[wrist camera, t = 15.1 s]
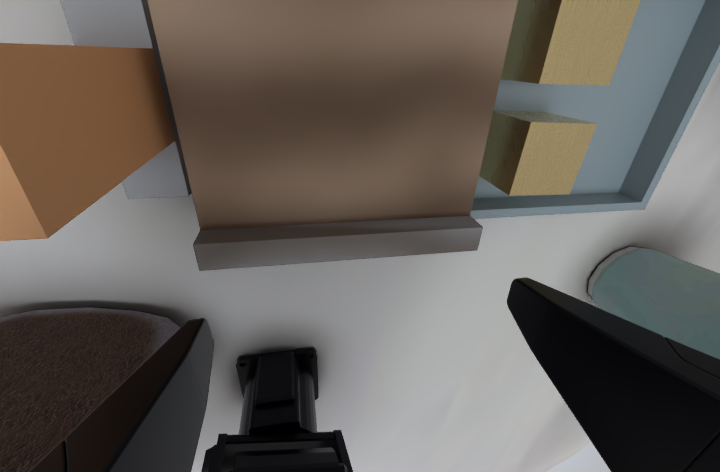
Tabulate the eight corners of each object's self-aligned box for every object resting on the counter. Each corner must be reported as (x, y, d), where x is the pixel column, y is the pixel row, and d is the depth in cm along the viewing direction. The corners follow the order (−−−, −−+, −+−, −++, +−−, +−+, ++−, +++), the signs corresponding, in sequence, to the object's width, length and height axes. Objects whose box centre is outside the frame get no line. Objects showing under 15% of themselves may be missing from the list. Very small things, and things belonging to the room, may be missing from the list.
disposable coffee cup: (587, 231, 27) (854, 390, 14) (694, 216, 29) (1022, 348, 16) (554, 323, 32) (727, 500, 20) (646, 307, 34) (862, 461, 21)
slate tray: (615, 196, 26) (644, 209, 24) (426, 204, 23) (440, 220, 21) (714, -26, 19) (768, -36, 17) (464, -53, 16) (490, -69, 14)
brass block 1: (493, 78, 19) (553, 79, 20) (539, 83, 16) (609, 85, 16) (511, -6, 17) (577, -1, 18) (567, -21, 14) (645, -14, 14)
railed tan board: (439, 210, 23) (477, 250, 19) (220, 221, 21) (199, 270, 16) (486, -64, 16) (567, -112, 11) (156, -103, 13) (84, -187, 9)
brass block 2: (474, 173, 22) (527, 172, 23) (509, 195, 18) (569, 194, 19) (489, 110, 20) (546, 112, 21) (531, 122, 16) (597, 123, 17)
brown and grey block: (197, 183, 19) (94, 330, 9) (142, 185, 19) (-33, 343, 9) (150, -29, 14) (-187, -224, 4) (74, -34, 14) (-522, -275, 4)
